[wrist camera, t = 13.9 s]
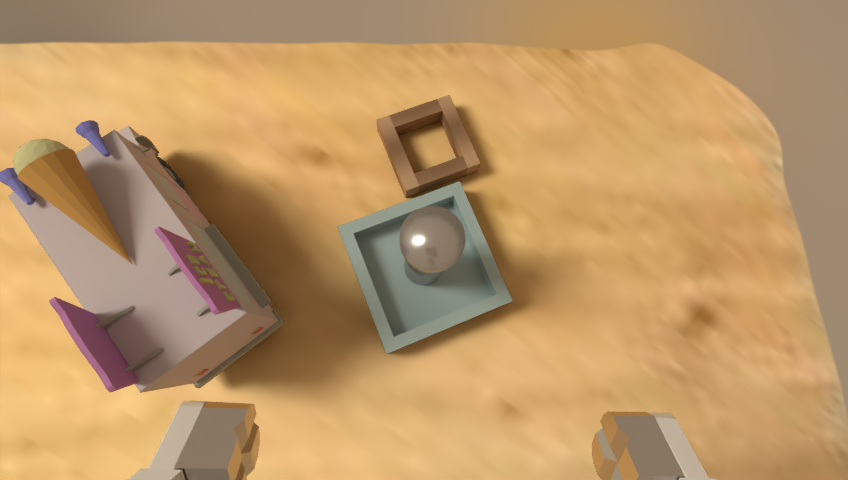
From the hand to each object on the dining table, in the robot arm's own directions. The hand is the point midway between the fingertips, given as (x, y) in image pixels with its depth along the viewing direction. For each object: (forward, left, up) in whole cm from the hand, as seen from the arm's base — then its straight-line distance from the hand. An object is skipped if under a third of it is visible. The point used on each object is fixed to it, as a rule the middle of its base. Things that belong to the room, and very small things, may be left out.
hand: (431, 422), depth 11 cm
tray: (+7, -5, -29) cm, 31 cm away
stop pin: (+7, -5, -29) cm, 30 cm away
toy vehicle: (+15, +14, -30) cm, 36 cm away
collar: (+17, -9, -29) cm, 35 cm away
